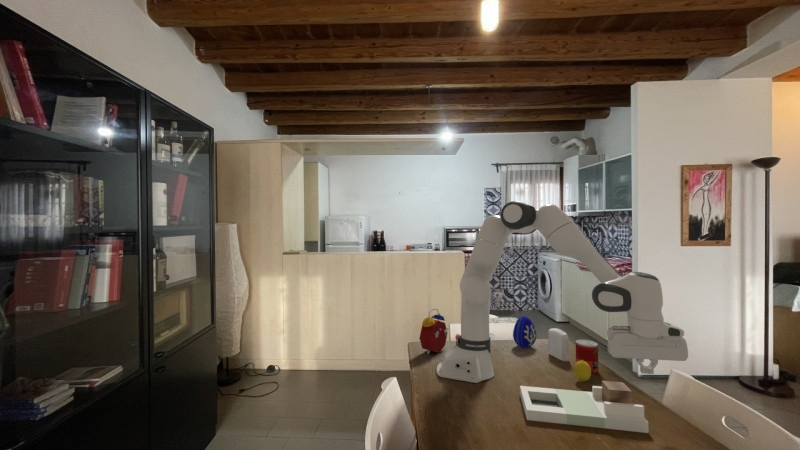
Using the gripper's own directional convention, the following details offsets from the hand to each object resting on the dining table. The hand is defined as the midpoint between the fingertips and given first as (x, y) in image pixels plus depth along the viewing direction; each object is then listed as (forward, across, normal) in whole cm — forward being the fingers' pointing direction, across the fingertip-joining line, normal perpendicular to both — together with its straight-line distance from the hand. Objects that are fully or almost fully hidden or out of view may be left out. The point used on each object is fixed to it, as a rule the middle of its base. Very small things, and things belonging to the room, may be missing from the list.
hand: (647, 373), depth 102 cm
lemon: (+14, -12, +23) cm, 29 cm away
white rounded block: (+14, -14, +47) cm, 51 cm away
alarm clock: (+13, -68, +43) cm, 82 cm away
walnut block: (+10, -9, 0) cm, 13 cm away
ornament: (+13, -27, +58) cm, 65 cm away
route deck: (+13, -20, 0) cm, 24 cm away
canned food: (+14, -6, +35) cm, 38 cm away
